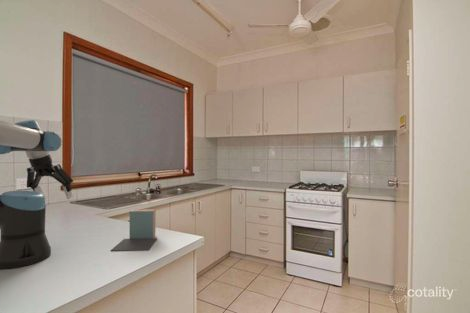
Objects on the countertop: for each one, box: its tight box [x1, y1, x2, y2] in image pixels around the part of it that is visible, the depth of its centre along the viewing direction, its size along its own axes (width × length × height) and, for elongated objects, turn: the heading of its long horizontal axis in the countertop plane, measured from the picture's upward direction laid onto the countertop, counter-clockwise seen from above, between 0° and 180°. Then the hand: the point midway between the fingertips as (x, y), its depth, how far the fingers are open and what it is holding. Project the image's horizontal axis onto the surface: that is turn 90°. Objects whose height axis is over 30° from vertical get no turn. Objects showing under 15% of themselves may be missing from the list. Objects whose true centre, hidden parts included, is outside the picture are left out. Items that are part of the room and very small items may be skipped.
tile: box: [128, 208, 157, 239], centre depth 106 cm, size 4×10×12 cm, turn 94°
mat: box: [110, 237, 158, 252], centre depth 97 cm, size 13×14×1 cm
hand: (56, 198), depth 112 cm, fingers open, 13 cm apart
